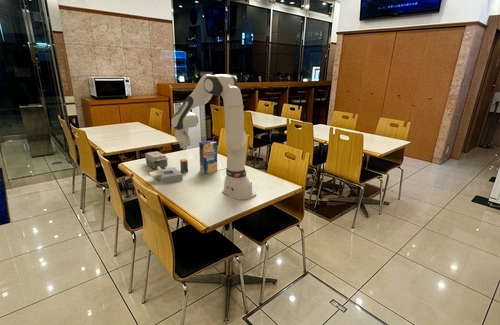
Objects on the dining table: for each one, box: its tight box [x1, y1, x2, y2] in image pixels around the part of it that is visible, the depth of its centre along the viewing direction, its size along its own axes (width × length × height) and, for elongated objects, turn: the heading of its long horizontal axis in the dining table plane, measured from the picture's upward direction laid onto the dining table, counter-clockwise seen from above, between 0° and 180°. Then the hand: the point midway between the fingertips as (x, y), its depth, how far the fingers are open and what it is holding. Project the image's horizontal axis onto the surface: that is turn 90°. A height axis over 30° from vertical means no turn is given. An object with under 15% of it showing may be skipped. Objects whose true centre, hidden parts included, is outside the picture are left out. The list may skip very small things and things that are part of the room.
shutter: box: [148, 167, 163, 177], centre depth 186 cm, size 7×7×4 cm
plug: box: [179, 158, 189, 173], centre depth 204 cm, size 4×4×9 cm
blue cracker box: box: [198, 140, 218, 175], centre depth 205 cm, size 7×11×22 cm, turn 127°
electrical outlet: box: [144, 151, 169, 170], centre depth 213 cm, size 12×28×10 cm, turn 38°
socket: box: [154, 167, 184, 184], centre depth 192 cm, size 16×14×4 cm
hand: (183, 149), depth 200 cm, fingers open, 4 cm apart
